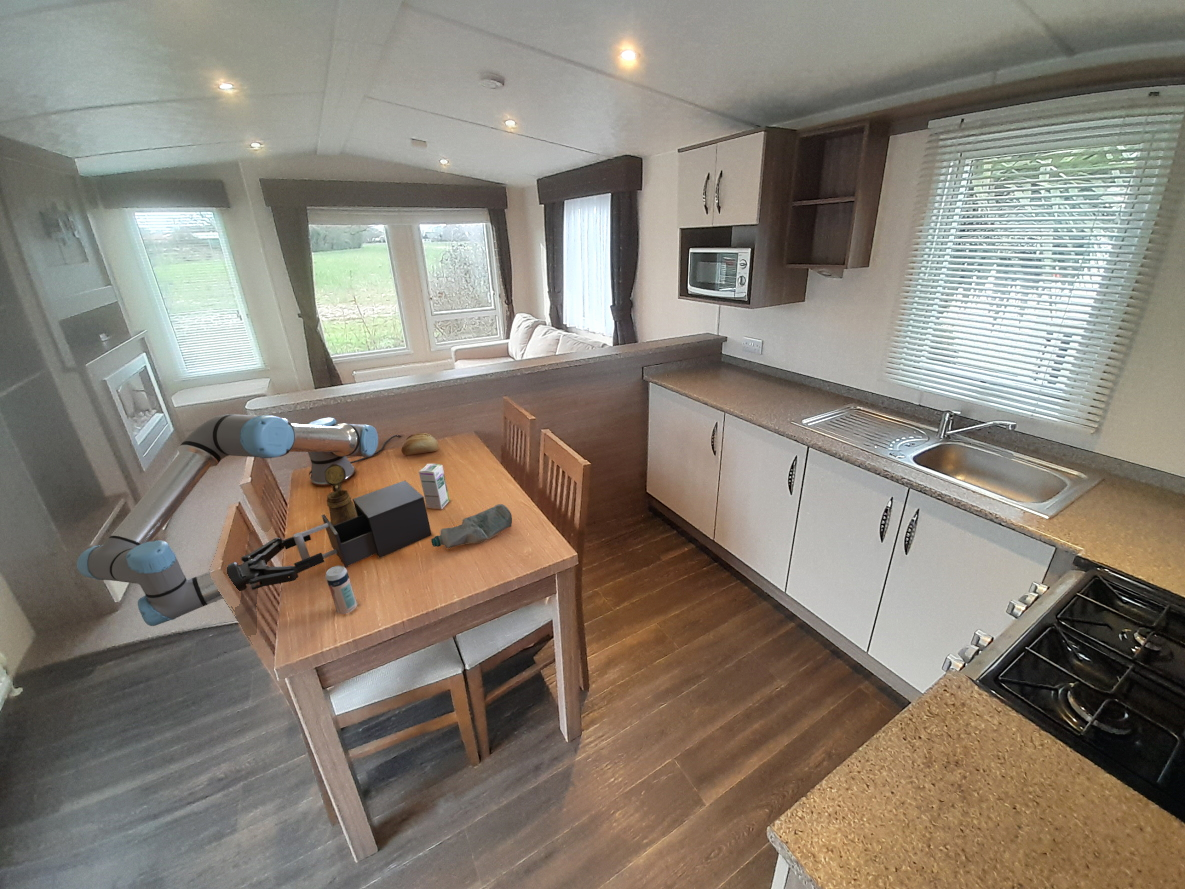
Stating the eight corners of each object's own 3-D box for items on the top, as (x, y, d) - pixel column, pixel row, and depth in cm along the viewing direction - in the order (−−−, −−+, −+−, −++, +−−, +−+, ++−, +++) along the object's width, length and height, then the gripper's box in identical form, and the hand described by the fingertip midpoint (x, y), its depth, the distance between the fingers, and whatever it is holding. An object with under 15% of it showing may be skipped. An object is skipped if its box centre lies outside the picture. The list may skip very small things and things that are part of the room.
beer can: (341, 602, 122) (329, 565, 117) (360, 600, 122) (349, 563, 117) (333, 616, 118) (320, 578, 113) (353, 614, 118) (341, 576, 113)
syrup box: (442, 509, 160) (434, 472, 154) (426, 508, 162) (418, 470, 155) (449, 500, 166) (443, 463, 159) (434, 499, 167) (427, 462, 160)
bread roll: (402, 451, 204) (398, 434, 200) (438, 444, 209) (435, 427, 205) (403, 460, 195) (399, 442, 192) (440, 453, 200) (437, 436, 197)
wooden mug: (361, 506, 164) (348, 460, 156) (361, 527, 152) (347, 478, 145) (333, 513, 161) (318, 465, 153) (330, 534, 149) (314, 484, 142)
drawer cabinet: (379, 558, 138) (368, 517, 132) (363, 537, 147) (352, 498, 141) (431, 535, 147) (423, 496, 141) (413, 517, 157) (405, 480, 151)
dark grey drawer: (312, 583, 127) (299, 547, 122) (300, 560, 136) (287, 525, 131) (400, 545, 142) (392, 511, 136) (384, 526, 151) (375, 494, 145)
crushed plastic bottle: (501, 513, 157) (426, 539, 144) (500, 495, 154) (423, 520, 141) (520, 534, 148) (440, 564, 135) (519, 516, 144) (437, 545, 132)
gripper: (222, 570, 129) (308, 537, 142) (236, 621, 112) (332, 578, 125) (212, 547, 126) (301, 516, 138) (224, 596, 109) (325, 555, 121)
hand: (316, 545), depth 132 cm, fingers open, 13 cm apart
